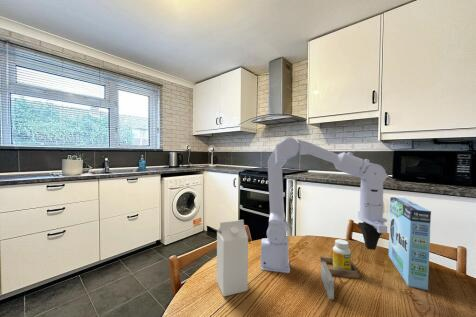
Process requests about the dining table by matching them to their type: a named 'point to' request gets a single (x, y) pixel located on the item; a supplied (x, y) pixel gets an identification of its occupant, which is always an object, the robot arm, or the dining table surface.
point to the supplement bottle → (341, 255)
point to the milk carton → (232, 257)
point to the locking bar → (327, 280)
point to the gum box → (410, 241)
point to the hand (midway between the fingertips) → (370, 248)
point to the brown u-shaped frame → (341, 272)
